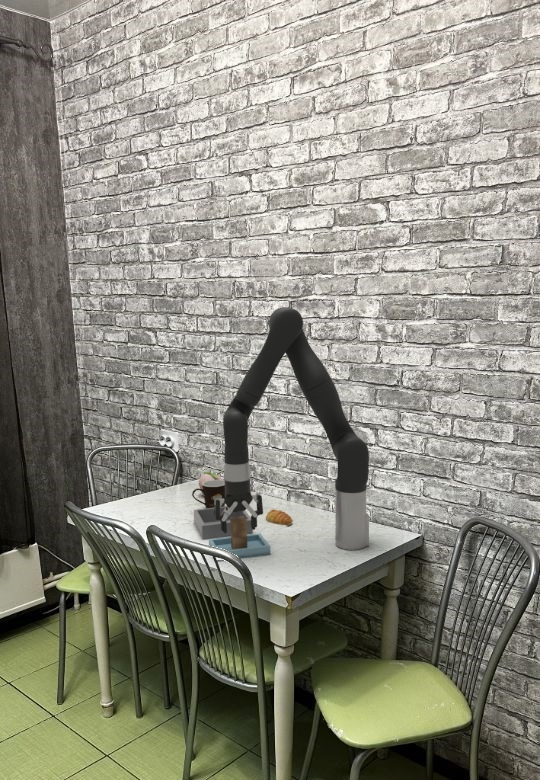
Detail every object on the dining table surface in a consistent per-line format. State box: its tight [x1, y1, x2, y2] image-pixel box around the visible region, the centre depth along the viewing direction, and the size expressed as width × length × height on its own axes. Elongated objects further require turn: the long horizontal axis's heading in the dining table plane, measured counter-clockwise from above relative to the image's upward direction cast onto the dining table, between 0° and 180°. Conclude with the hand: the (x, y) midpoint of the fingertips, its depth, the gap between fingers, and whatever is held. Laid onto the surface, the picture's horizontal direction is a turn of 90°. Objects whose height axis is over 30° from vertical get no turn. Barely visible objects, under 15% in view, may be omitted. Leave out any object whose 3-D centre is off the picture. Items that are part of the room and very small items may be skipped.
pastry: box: [265, 508, 294, 527], centre depth 209 cm, size 9×7×4 cm
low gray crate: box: [193, 505, 254, 541], centre depth 203 cm, size 16×16×5 cm
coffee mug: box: [191, 479, 226, 509], centre depth 222 cm, size 12×9×10 cm
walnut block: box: [230, 516, 248, 550], centre depth 185 cm, size 4×4×9 cm
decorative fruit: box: [198, 470, 223, 489], centre depth 239 cm, size 9×8×10 cm
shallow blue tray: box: [208, 533, 271, 559], centre depth 186 cm, size 16×11×2 cm
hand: (239, 530), depth 185 cm, fingers open, 8 cm apart
